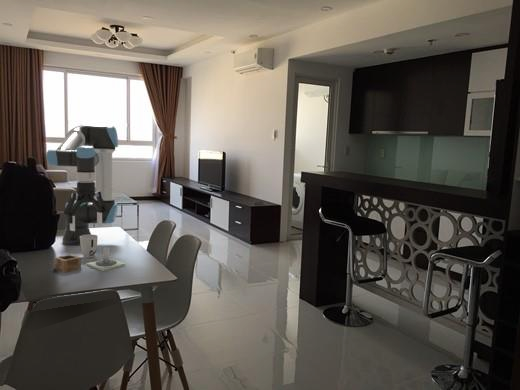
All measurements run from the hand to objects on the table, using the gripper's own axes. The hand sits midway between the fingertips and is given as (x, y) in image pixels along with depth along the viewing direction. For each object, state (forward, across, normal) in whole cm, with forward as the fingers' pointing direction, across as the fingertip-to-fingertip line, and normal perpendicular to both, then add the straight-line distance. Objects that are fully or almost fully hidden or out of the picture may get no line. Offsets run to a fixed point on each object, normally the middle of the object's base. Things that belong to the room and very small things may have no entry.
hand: (86, 228), depth 193 cm
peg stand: (+17, +6, -6) cm, 19 cm away
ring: (+17, -8, +2) cm, 19 cm away
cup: (+17, +10, +13) cm, 24 cm away
